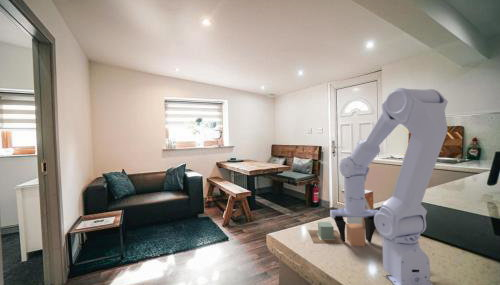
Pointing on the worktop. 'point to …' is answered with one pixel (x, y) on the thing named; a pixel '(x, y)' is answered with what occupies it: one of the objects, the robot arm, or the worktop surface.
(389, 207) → the robot arm
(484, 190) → the worktop surface
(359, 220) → the small box
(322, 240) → the build board
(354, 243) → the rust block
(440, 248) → the worktop surface
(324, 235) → the green block
